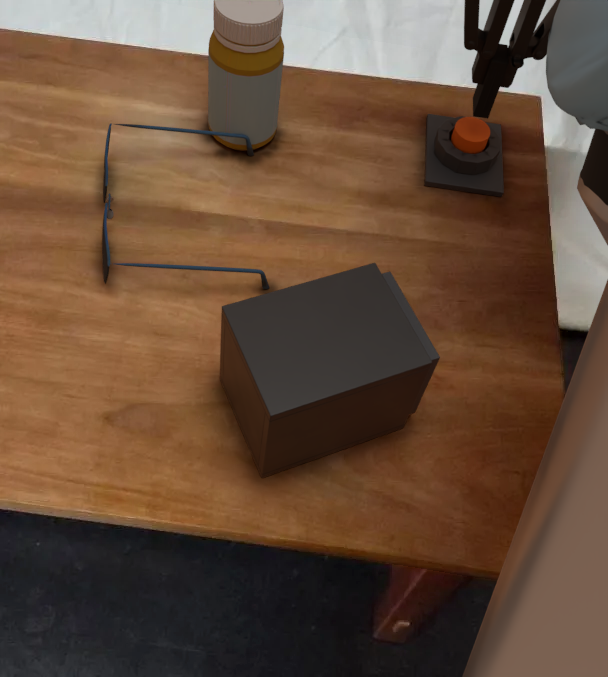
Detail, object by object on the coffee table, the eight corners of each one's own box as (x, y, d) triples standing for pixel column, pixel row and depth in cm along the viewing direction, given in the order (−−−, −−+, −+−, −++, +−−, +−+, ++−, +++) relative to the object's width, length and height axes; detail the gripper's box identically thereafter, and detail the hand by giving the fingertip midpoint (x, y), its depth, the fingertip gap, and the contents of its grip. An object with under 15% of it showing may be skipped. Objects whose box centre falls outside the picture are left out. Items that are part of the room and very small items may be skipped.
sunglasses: (103, 154, 81) (105, 116, 77) (250, 166, 85) (259, 130, 81) (100, 297, 72) (102, 261, 68) (265, 303, 76) (276, 270, 72)
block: (502, 197, 83) (509, 180, 81) (424, 185, 83) (429, 168, 81) (499, 129, 89) (506, 111, 87) (426, 118, 89) (431, 99, 87)
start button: (485, 156, 83) (490, 144, 82) (450, 151, 83) (455, 138, 82) (485, 132, 85) (490, 119, 84) (451, 127, 85) (455, 114, 84)
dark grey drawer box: (354, 336, 72) (375, 261, 64) (403, 428, 68) (433, 362, 59) (219, 378, 69) (221, 305, 60) (261, 478, 64) (270, 416, 55)
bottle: (260, 162, 83) (270, 36, 70) (197, 140, 83) (195, 11, 71) (286, 119, 86) (300, -8, 74) (225, 98, 87) (228, -32, 75)
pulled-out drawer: (383, 328, 72) (403, 266, 65) (427, 408, 68) (454, 352, 61) (248, 370, 68) (253, 310, 61) (286, 457, 65) (297, 404, 57)
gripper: (649, -150, 63) (543, 92, 83) (481, -177, 63) (415, 73, 83) (662, -97, 59) (547, 144, 79) (483, -125, 59) (413, 124, 78)
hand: (480, 107), depth 81 cm, fingers closed
